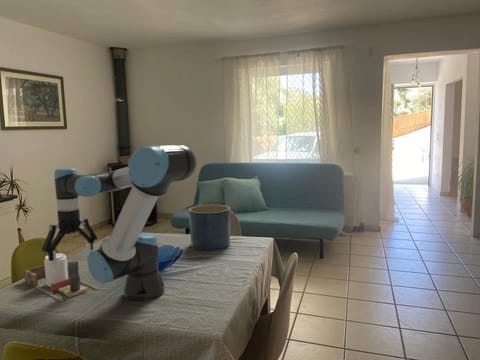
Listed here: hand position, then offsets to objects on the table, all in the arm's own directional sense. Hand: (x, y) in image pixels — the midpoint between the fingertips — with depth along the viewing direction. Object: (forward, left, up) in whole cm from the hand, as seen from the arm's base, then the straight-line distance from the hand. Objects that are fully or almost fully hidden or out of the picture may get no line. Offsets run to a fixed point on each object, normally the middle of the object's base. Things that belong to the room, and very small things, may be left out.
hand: (72, 263), depth 141 cm
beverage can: (+15, 0, -12) cm, 19 cm away
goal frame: (+24, 0, -12) cm, 26 cm away
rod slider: (+2, 0, -12) cm, 12 cm away
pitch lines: (+7, 0, -12) cm, 14 cm away
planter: (0, -76, -12) cm, 77 cm away
